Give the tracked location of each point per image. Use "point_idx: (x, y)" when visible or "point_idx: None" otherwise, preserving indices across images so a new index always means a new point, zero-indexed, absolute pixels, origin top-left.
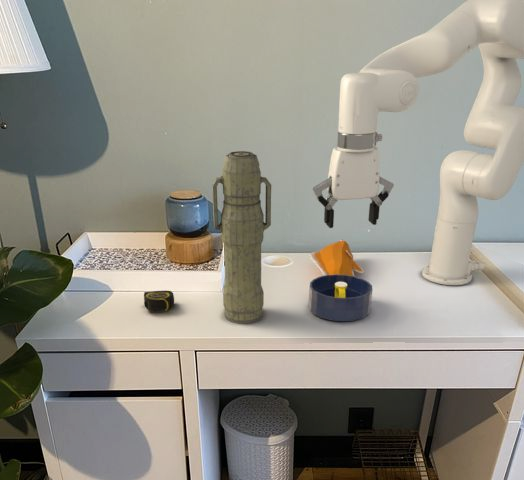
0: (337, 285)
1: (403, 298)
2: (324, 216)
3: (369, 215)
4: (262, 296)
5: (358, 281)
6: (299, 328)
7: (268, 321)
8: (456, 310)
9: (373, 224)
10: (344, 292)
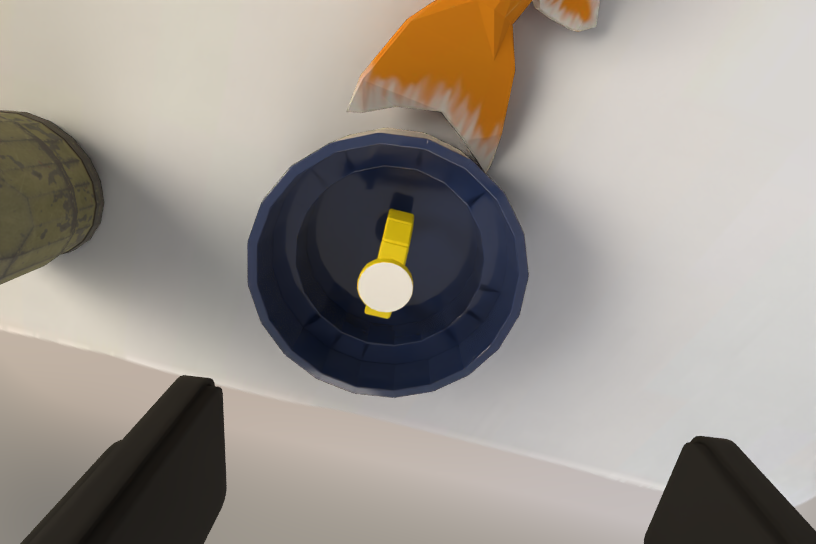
0: (364, 294)
1: (679, 219)
2: (81, 484)
3: (720, 511)
4: (33, 253)
5: (504, 220)
6: (217, 330)
7: (121, 258)
8: (771, 355)
9: (652, 534)
10: (385, 317)
